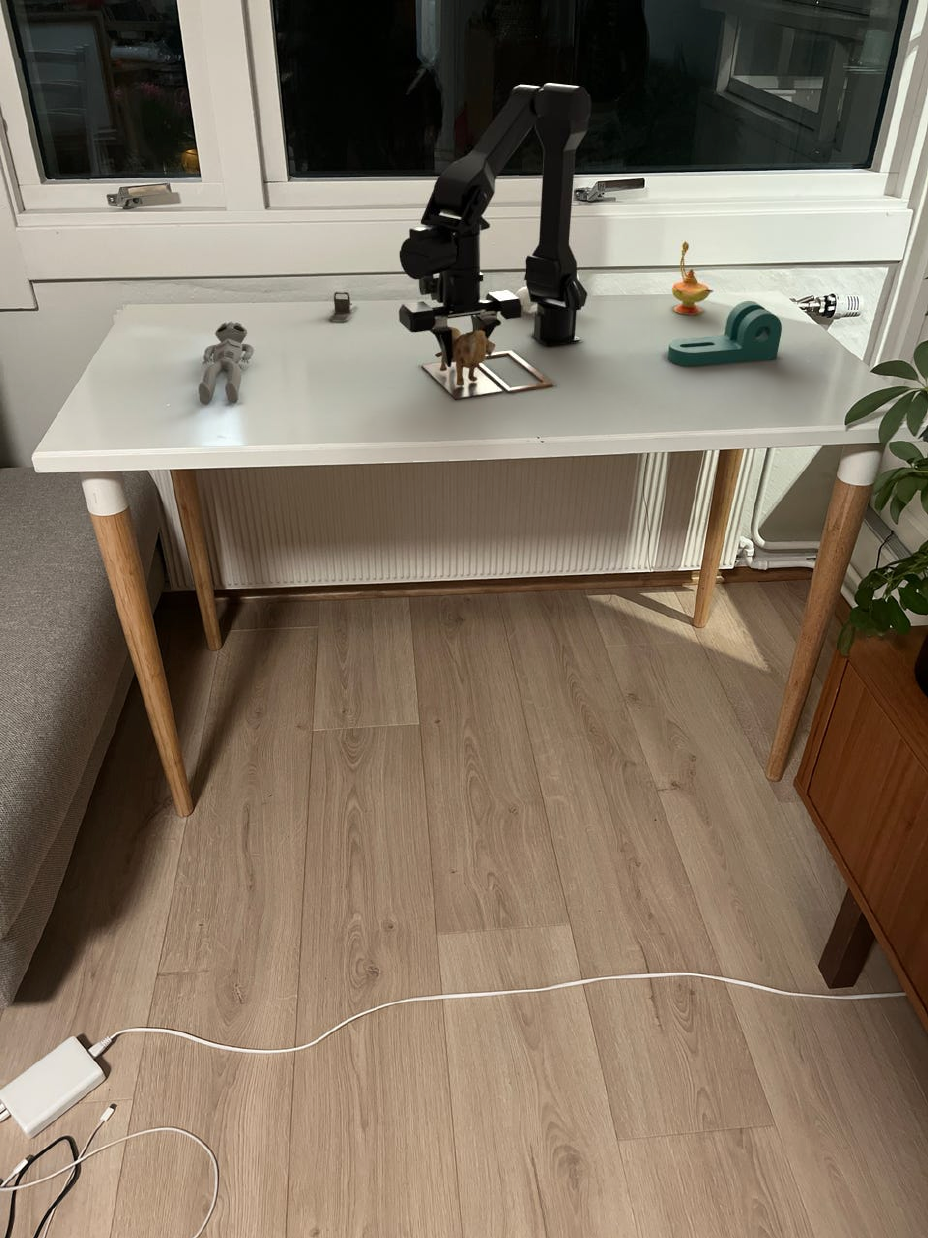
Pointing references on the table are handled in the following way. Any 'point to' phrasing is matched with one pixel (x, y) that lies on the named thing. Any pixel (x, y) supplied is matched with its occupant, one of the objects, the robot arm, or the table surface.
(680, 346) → the bracket
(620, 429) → the table surface
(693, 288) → the magic lamp
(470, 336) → the lion figurine
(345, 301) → the strap clip
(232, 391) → the alien figure
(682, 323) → the table surface
